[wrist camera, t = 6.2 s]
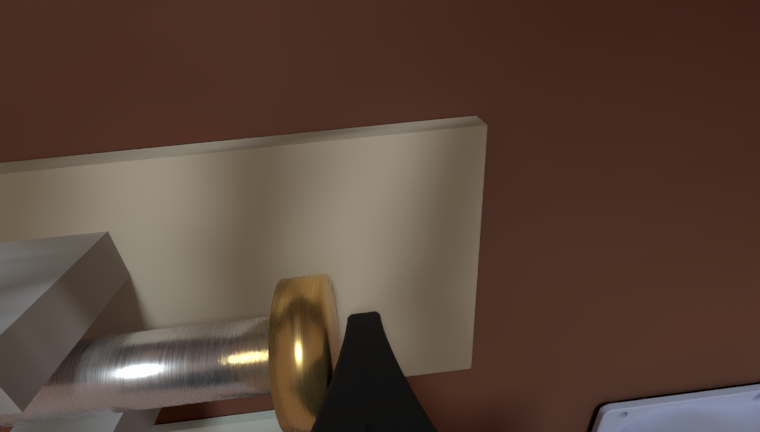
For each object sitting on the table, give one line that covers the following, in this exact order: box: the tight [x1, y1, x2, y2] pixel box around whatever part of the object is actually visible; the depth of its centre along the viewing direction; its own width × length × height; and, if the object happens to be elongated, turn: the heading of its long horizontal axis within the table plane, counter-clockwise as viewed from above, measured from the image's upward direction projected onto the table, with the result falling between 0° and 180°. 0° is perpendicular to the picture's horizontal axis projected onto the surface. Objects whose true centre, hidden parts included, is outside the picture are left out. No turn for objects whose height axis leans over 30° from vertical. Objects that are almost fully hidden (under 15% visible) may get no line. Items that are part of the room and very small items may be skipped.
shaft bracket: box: [0, 116, 487, 432], centre depth 11 cm, size 14×10×6 cm
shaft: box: [0, 273, 340, 432], centre depth 10 cm, size 11×4×4 cm, turn 94°
